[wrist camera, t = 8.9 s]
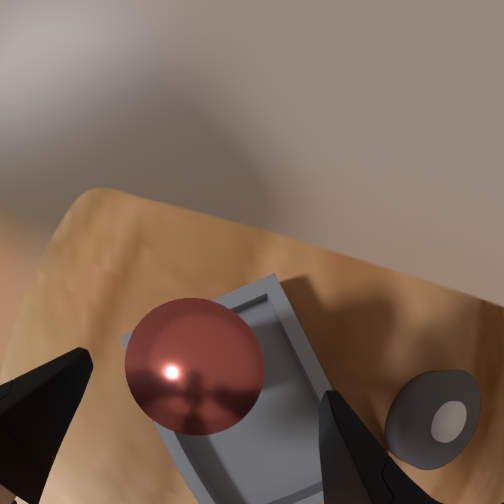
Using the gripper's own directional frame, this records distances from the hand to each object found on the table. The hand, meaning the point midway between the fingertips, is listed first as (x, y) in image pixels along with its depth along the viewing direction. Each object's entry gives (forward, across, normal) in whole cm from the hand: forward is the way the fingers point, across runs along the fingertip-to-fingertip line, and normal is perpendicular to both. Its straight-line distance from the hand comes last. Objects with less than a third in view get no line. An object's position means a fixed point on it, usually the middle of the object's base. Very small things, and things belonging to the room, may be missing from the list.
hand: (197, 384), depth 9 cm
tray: (+5, -2, +9) cm, 10 cm away
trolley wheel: (+4, -16, +9) cm, 19 cm away
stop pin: (+6, 0, +6) cm, 9 cm away
